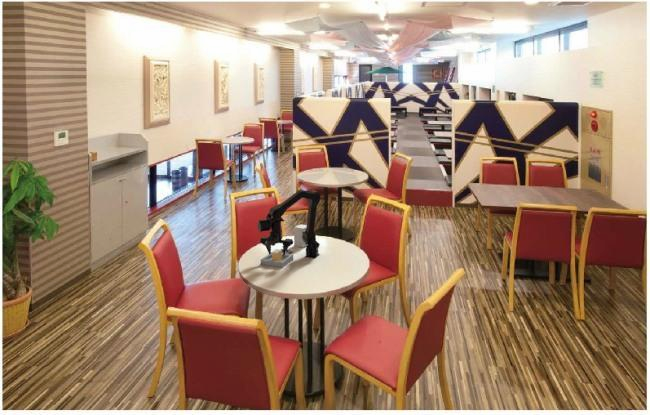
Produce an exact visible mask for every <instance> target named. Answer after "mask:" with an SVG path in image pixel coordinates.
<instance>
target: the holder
mask: <svg viewBox="0 0 650 415" xmlns="http://www.w3.org/2000/svg"><path fill="white" fill-rule="evenodd" d="M279 250H282V253H283V248H281V249H279ZM292 253H293V250H292V249H287V252H286V254H290V255H291V254H292Z"/></svg>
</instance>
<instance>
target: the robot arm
mask: <svg viewBox="0 0 650 415" xmlns="http://www.w3.org/2000/svg"><path fill="white" fill-rule="evenodd" d="M321 198H322V195H321V194H320V193H319V192H318V191H316V190H314V189H312V190H303V189H298V190H297V191H296V192H295V193H294V194H292V195H291V196H289V197H288V198H287V199H285V200H284V201H283V202H281V203H279V204H276V205H274V206H271V207H270V208H269V211H268V213H267V215H266V217H265V219H258V221H257V225H256V227H257V228H256V229H257V230H258V232H259V233H261V232H268V231H270V232H269V236H268V235H264V236H262V237H261V238H259V243H260V244H261V245H262V246H265V248H266V250H267V252H268V254H271V252H272V247H274V246H276V244H282V249H283V252H282V254H283V256H285V254H286V253H287V250H289V247H290V246H291V245H293V244H294V239H292V238H285V239H283V236H282V233H283V230H282V222H285V220H284V218H282V216H284V214H285V213H286V211H287V210H288V209H290V208H291V207H292V206H293V205H295V204H296V203H298V202H299V201H300V200H301V199H307V203H308V211H307V220H306V225H307V227H306V230H305V232H304V231H303V232H302V238H303V241H304V242H305V243H306V245H307V246H306V248H305V257H306V258H313V259H315V258H317V257H319V256H320V253H319V247H320V243H319V242H318V241H317V237H316V232H315V225H316V217H317V209H318V208H317V207H318V206H319V204H320V202H321Z"/></svg>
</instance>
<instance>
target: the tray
mask: <svg viewBox="0 0 650 415" xmlns="http://www.w3.org/2000/svg"><path fill="white" fill-rule="evenodd" d="M272 252H273V251H271V254H269V253H268V254H267V255H266V256H264V257H262V258H261V259H260V265H261V266H267V267H273V268H275V267H276V268H281V269H283V268H284V267H286V266H287V265H288V264H290V263H291V262H293V261H294V254H291V253H290V254H285V256H283V253H282V260H281V261H273V260H272Z"/></svg>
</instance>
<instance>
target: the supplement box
mask: <svg viewBox="0 0 650 415" xmlns="http://www.w3.org/2000/svg"><path fill="white" fill-rule="evenodd" d="M306 227H307V224H302V223H301V224H298V225H296V226H293V244H294V245H293V246H295V247H297V248H298V247H299V248H303V249H304V248H305V247H307V245H306V243H305V242H304V241H303V238H302V232H303V231H304V232H305V230H306Z"/></svg>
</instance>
